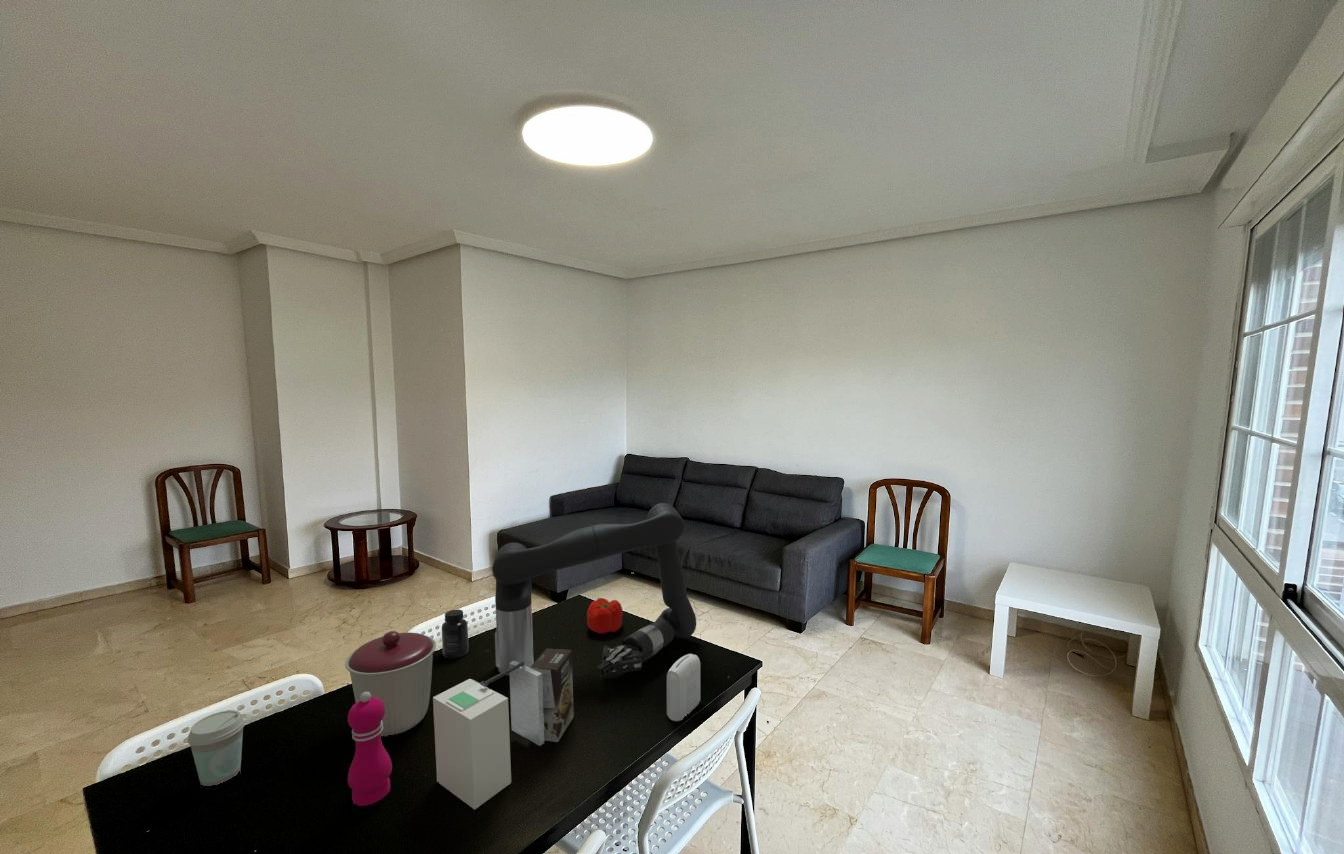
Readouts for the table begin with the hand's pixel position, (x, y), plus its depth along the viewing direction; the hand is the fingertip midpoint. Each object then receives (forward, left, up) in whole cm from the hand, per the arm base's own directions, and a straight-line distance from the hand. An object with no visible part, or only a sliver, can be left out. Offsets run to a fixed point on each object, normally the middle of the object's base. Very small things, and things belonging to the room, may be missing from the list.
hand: (598, 672), depth 133 cm
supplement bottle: (-48, -8, -6) cm, 49 cm away
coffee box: (0, -15, -6) cm, 16 cm away
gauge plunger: (0, -27, -4) cm, 27 cm away
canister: (-31, -34, -6) cm, 46 cm away
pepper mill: (-13, -48, -6) cm, 50 cm away
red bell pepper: (-23, +27, -6) cm, 36 cm away
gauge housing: (0, -35, -6) cm, 35 cm away
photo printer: (+20, +7, -6) cm, 22 cm away
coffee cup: (-41, -63, -6) cm, 75 cm away
